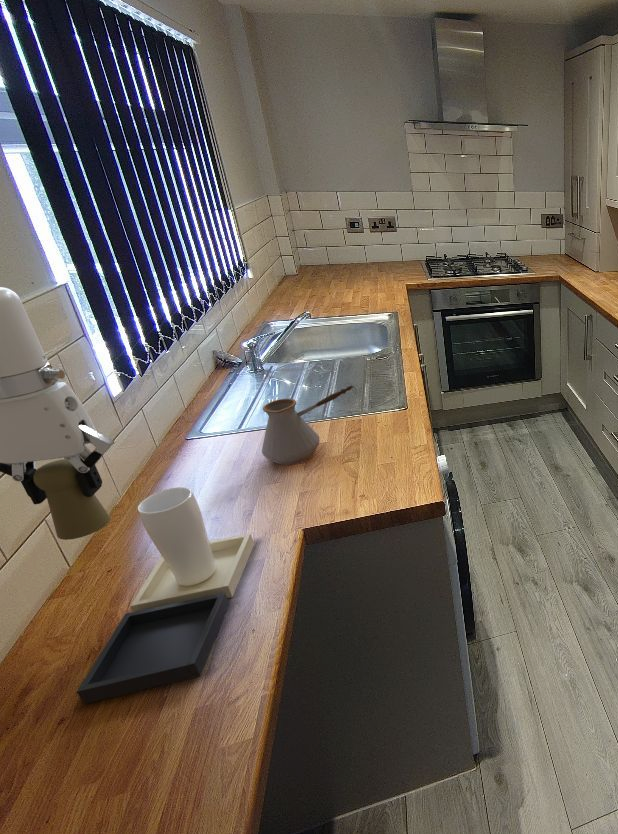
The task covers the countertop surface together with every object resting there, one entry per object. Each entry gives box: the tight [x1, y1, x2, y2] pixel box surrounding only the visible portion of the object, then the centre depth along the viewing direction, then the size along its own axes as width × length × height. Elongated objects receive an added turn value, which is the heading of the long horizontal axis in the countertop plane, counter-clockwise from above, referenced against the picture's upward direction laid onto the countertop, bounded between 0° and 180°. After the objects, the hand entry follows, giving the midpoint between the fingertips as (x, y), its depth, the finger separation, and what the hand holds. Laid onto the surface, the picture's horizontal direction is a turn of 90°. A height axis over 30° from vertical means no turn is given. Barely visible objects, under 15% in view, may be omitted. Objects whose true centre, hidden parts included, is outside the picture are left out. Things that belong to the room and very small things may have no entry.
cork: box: [33, 458, 111, 541], centre depth 77 cm, size 6×6×11 cm
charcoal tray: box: [76, 593, 230, 705], centre depth 72 cm, size 13×13×2 cm
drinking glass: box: [137, 486, 217, 586], centre depth 82 cm, size 7×7×15 cm
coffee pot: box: [261, 385, 358, 465], centre depth 117 cm, size 21×12×15 cm, turn 110°
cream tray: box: [129, 533, 255, 612], centre depth 85 cm, size 13×13×2 cm
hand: (68, 494), depth 77 cm, fingers closed on cork, 5 cm apart
